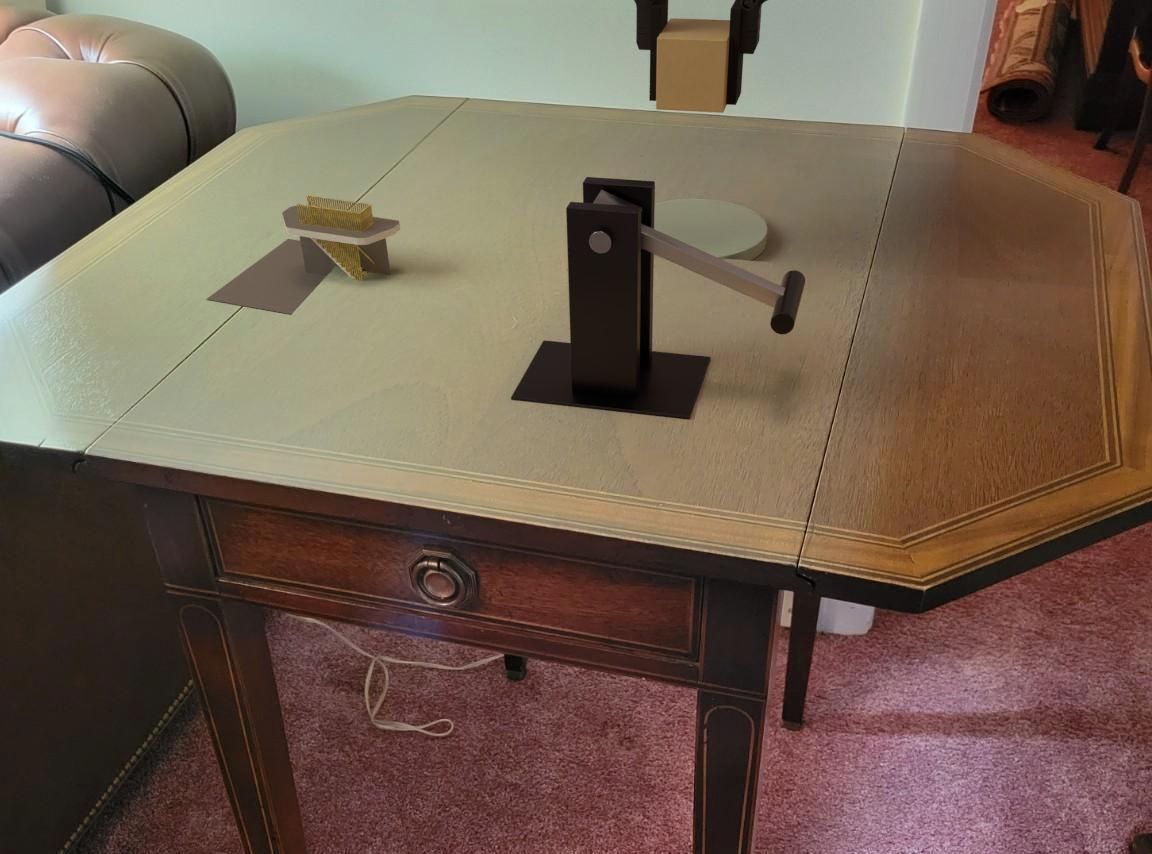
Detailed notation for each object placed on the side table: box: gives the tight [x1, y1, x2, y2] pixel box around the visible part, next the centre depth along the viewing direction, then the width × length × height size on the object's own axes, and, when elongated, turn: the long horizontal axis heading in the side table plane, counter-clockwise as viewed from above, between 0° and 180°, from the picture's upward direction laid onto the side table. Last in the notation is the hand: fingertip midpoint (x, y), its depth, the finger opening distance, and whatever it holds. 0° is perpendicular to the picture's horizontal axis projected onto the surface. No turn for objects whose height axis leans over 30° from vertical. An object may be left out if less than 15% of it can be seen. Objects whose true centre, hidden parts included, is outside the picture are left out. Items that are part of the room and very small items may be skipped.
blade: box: [594, 190, 806, 335], centre depth 75 cm, size 14×6×2 cm, turn 74°
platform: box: [206, 194, 401, 315], centre depth 95 cm, size 12×18×7 cm, turn 67°
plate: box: [654, 198, 769, 262], centre depth 101 cm, size 12×12×1 cm
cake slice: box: [655, 17, 730, 114], centre depth 89 cm, size 5×5×5 cm
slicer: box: [510, 176, 712, 420], centre depth 78 cm, size 12×8×14 cm, turn 75°
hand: (695, 96), depth 91 cm, fingers closed on cake slice, 5 cm apart
